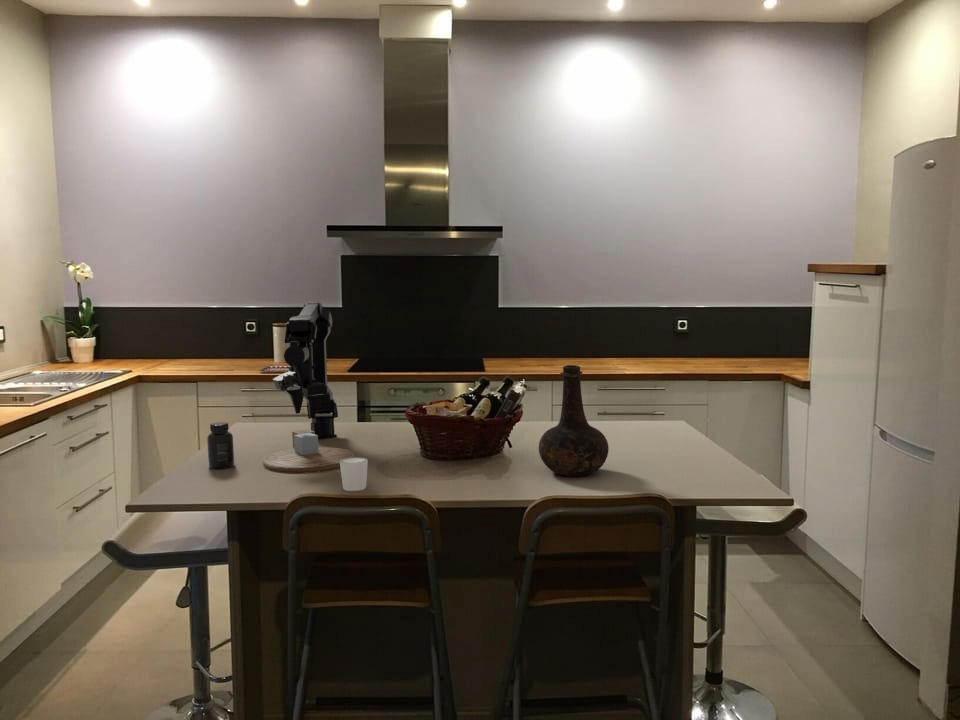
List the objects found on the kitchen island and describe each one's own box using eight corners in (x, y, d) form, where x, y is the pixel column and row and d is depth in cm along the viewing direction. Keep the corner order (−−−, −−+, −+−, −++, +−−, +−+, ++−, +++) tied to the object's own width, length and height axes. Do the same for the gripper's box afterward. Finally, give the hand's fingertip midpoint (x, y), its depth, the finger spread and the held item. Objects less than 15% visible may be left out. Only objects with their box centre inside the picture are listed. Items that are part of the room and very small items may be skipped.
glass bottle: (616, 467, 224) (616, 362, 221) (596, 484, 208) (596, 371, 205) (552, 462, 231) (551, 360, 228) (529, 477, 215) (528, 368, 212)
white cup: (341, 484, 211) (340, 457, 210) (369, 483, 212) (368, 456, 211) (339, 492, 204) (338, 463, 203) (367, 491, 205) (367, 462, 204)
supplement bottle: (238, 463, 235) (236, 421, 234) (228, 469, 229) (226, 425, 227) (214, 463, 236) (212, 421, 235) (204, 469, 229) (202, 425, 228)
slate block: (310, 449, 245) (310, 432, 245) (318, 452, 241) (317, 435, 241) (294, 452, 242) (294, 435, 242) (302, 455, 238) (301, 437, 238)
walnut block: (308, 445, 258) (307, 429, 258) (315, 448, 254) (314, 431, 254) (292, 447, 255) (292, 431, 255) (300, 450, 251) (299, 433, 251)
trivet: (372, 462, 237) (372, 455, 237) (298, 479, 219) (297, 472, 219) (319, 449, 254) (319, 443, 254) (245, 464, 236) (245, 458, 236)
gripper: (262, 361, 244) (265, 414, 245) (290, 367, 229) (293, 424, 231) (298, 357, 250) (300, 409, 252) (327, 363, 236) (329, 419, 237)
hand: (304, 415), depth 243 cm, fingers open, 9 cm apart
